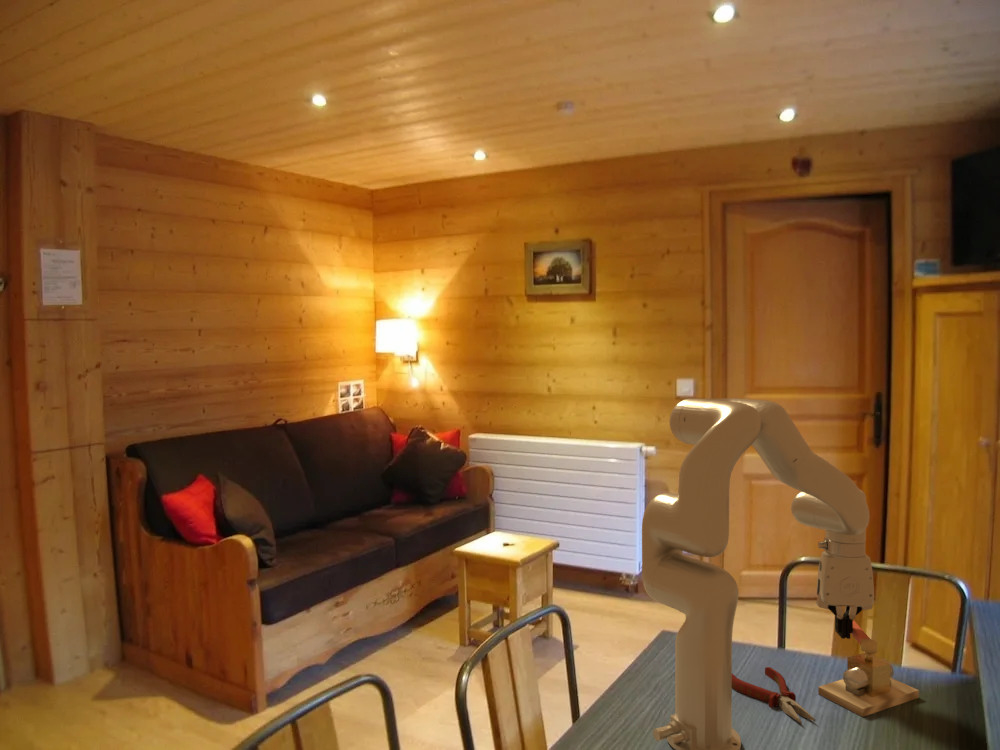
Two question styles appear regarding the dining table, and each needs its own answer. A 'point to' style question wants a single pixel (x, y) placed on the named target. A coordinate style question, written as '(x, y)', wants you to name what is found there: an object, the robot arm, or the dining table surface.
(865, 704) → the mounting board
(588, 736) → the dining table surface
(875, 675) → the valve body
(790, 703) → the pliers
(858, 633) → the valve lever
